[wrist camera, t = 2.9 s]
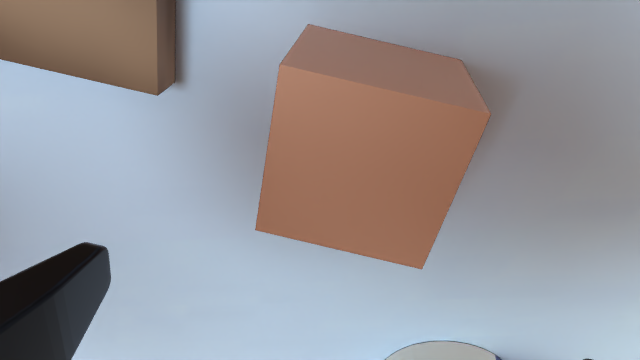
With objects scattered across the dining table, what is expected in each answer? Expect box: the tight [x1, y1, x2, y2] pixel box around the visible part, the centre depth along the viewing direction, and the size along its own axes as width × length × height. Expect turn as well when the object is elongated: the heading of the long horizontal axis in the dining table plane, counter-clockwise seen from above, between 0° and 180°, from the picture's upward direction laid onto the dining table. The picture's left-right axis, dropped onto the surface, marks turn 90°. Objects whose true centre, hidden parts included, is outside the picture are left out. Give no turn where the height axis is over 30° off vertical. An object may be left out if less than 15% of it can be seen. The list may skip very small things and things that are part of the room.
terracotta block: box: [255, 24, 491, 269], centre depth 14 cm, size 6×6×5 cm
